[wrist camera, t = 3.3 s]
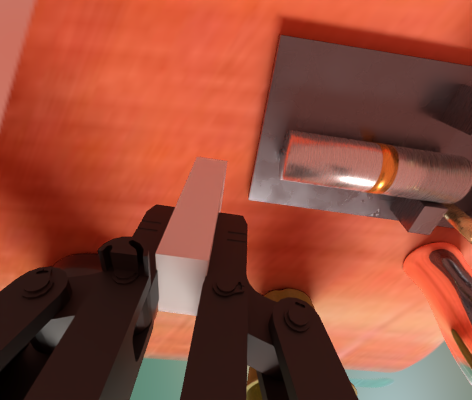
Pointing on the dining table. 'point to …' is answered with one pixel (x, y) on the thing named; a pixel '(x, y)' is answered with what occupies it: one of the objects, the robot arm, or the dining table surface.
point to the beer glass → (446, 295)
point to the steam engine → (365, 124)
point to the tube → (374, 167)
